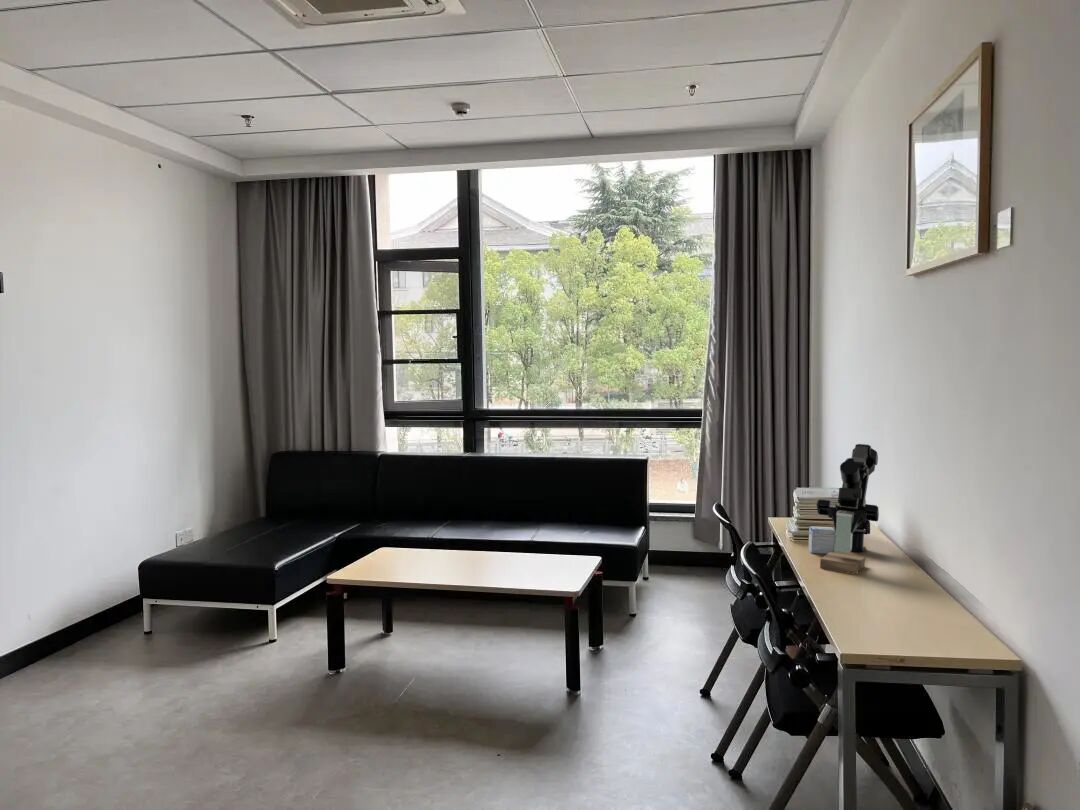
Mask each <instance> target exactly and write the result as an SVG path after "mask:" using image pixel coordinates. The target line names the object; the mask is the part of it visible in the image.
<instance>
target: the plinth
mask: <svg viewBox="0 0 1080 810" xmlns="http://www.w3.org/2000/svg"><path fill="white" fill-rule="evenodd" d="M819 561H820V564H819V568H820V569H825V570H829V569H830V571H835V570H836V572H840V571H843V572H842V573H845V572H849V573H848V574H851V573H854V574H853V575H857V574H858V573H859V572H860V571H861V570H863V568H865V567H864V566H866V563H865V562H866V557H863V556H859V555H858V556H857V555H851V554H848V553H842V552H836V551H834V552H829V553H828V554H825V555H824V556H823V557H821V558H820V560H819ZM859 570H860V571H859ZM858 571H859V572H858ZM857 572H858V573H857ZM856 573H857V574H856Z"/></svg>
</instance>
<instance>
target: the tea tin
mask: <svg viewBox="0 0 1080 810" xmlns="http://www.w3.org/2000/svg"><path fill="white" fill-rule="evenodd" d="M836 515H837V520H836V532H835V549H834V552H836V553H843V554H851V552H852V536H853V533H851V528H852V524H853V516H854V512H852V511H843V510H838V512H837V513H836Z"/></svg>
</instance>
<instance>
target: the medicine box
mask: <svg viewBox="0 0 1080 810" xmlns="http://www.w3.org/2000/svg"><path fill="white" fill-rule="evenodd" d="M835 540H836V531H835V528H833V527H832V526H814V525H813V526H811V525H810V526H809V529H808V547H807V548H808V551H809V552H810V553H811V554H821V555H822V554H825V555H827V554H828V553H829V552H835Z"/></svg>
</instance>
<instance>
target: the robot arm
mask: <svg viewBox="0 0 1080 810" xmlns="http://www.w3.org/2000/svg"><path fill="white" fill-rule="evenodd" d="M878 461H879V456H878V452H877V450H876V449H874V448H872V446H871V445H870V444H866V443H858V444H855V446H854V448H853V449H852V453H851V457H848V458H846V459H845V460H844V461H843V462H841V464H840V465H839V471H840V476H841V481H842V485H841V487H839V488H838V494H837V495H838V496H837V497H838V499H837V503H838V504H836V503H833V502H831V500H830V499H823V498H819V499H817V502H816V509H817V510H816V511H817V514H818V515H820V516H821V515H822V516H827V517H828V518H829V519H830V518H831V519H832V522H833V526H834V530H835V531H836V520H837V515H836V513H837V512H838V510H843V511H852V512H854V516H853V524H852V528H851V533H853V536H852V550H851V552H852V551H853V552H859V553H862V552H863V551H865V550H866V549H867V547H866V546H864V539H865V535H866V536H867V535H871V522H878V521H879V516H880V513H879V512H880V511H879V506H877V504H868V503H865V502H866V496H867V490H868V484H869V477H870V475H871V474H872V473H874V472H875V468H876V466H877V465H878ZM870 521H871V522H870Z"/></svg>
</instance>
